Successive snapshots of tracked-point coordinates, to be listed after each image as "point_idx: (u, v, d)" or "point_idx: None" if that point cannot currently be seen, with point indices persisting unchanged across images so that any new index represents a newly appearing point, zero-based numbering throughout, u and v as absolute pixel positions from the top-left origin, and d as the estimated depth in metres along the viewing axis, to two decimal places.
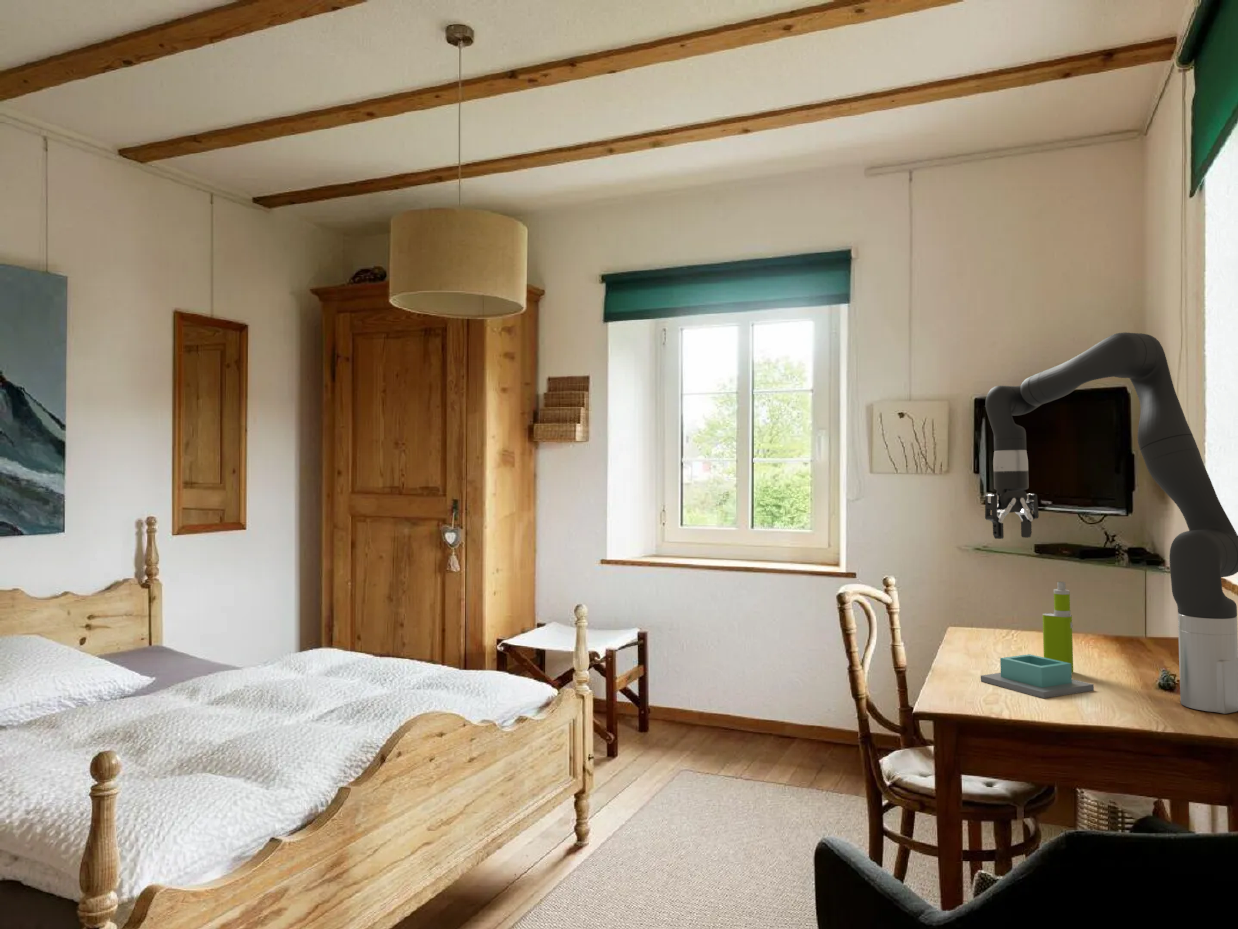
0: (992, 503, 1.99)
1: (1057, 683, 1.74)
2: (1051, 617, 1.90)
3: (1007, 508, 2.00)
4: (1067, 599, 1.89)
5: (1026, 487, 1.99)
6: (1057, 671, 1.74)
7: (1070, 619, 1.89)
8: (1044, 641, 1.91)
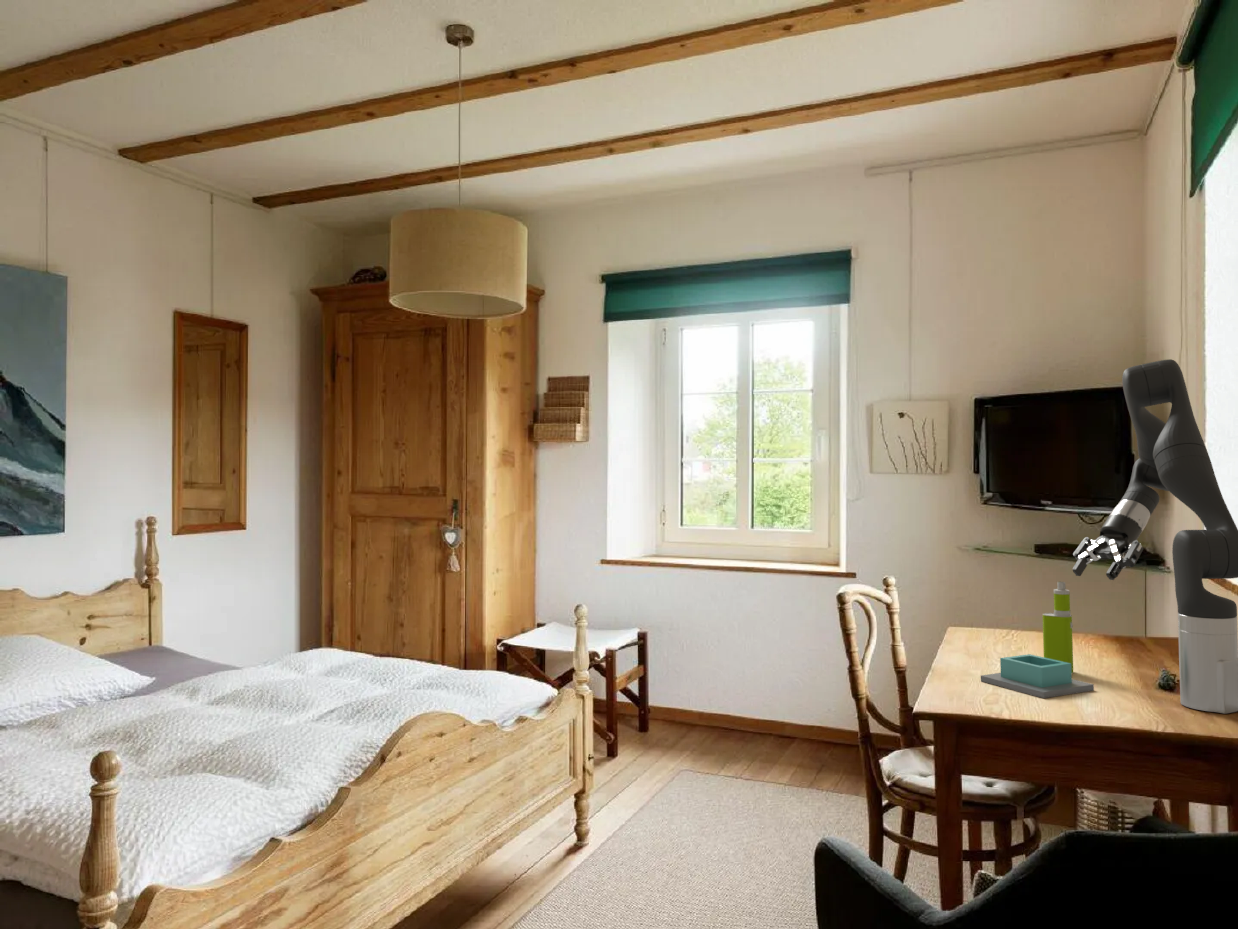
0: None
1: (1057, 683, 1.74)
2: (1051, 617, 1.90)
3: (1091, 546, 2.00)
4: (1067, 599, 1.89)
5: (1113, 527, 1.97)
6: (1057, 671, 1.74)
7: (1070, 619, 1.89)
8: (1044, 641, 1.91)
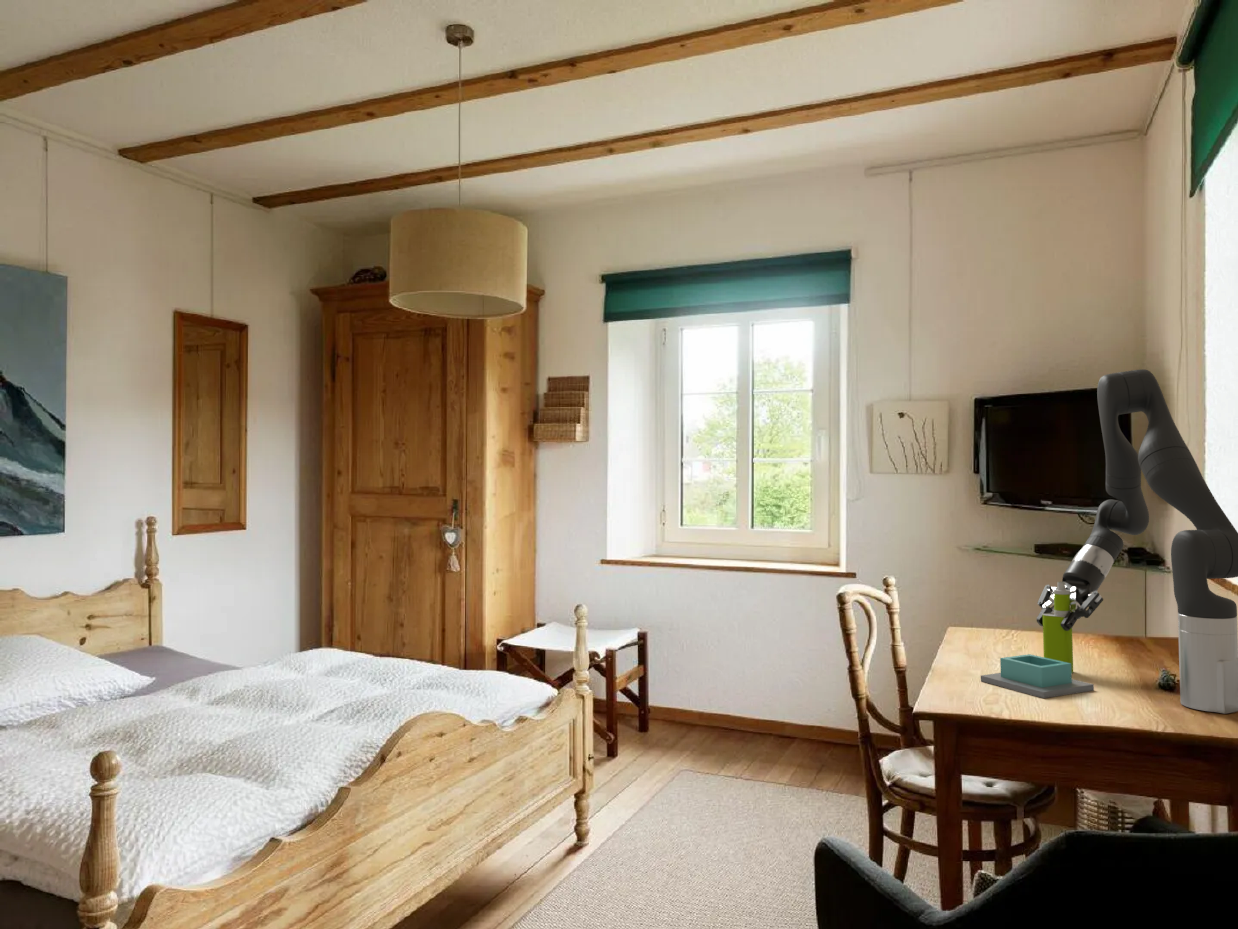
0: None
1: (1057, 683, 1.74)
2: (1051, 617, 1.90)
3: (1053, 594, 1.94)
4: (1067, 599, 1.89)
5: (1074, 573, 1.92)
6: (1057, 671, 1.74)
7: None
8: (1044, 641, 1.91)
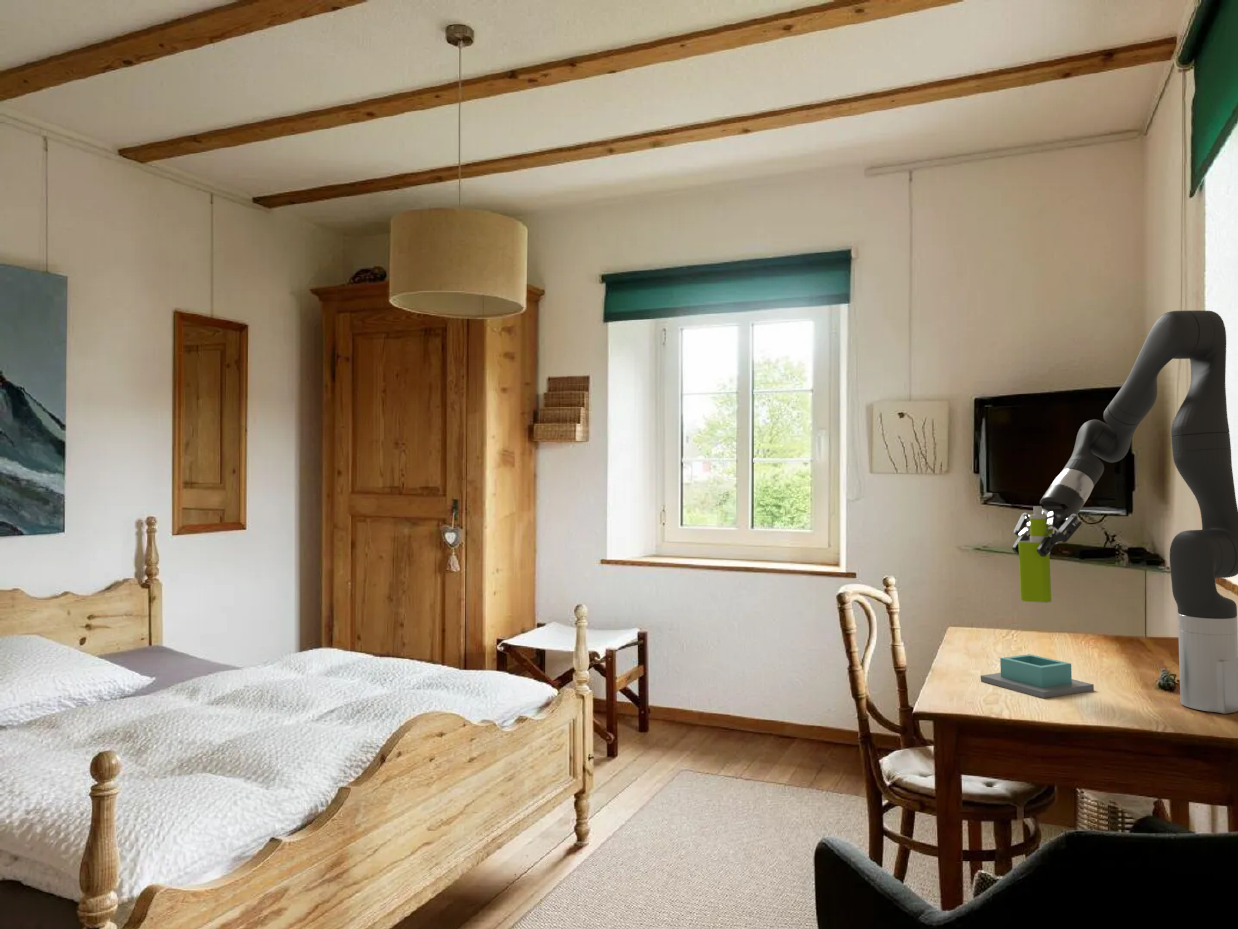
0: None
1: (1057, 683, 1.74)
2: (1027, 543, 1.79)
3: None
4: (1043, 523, 1.78)
5: (1052, 497, 1.81)
6: (1057, 671, 1.74)
7: None
8: (1020, 569, 1.80)
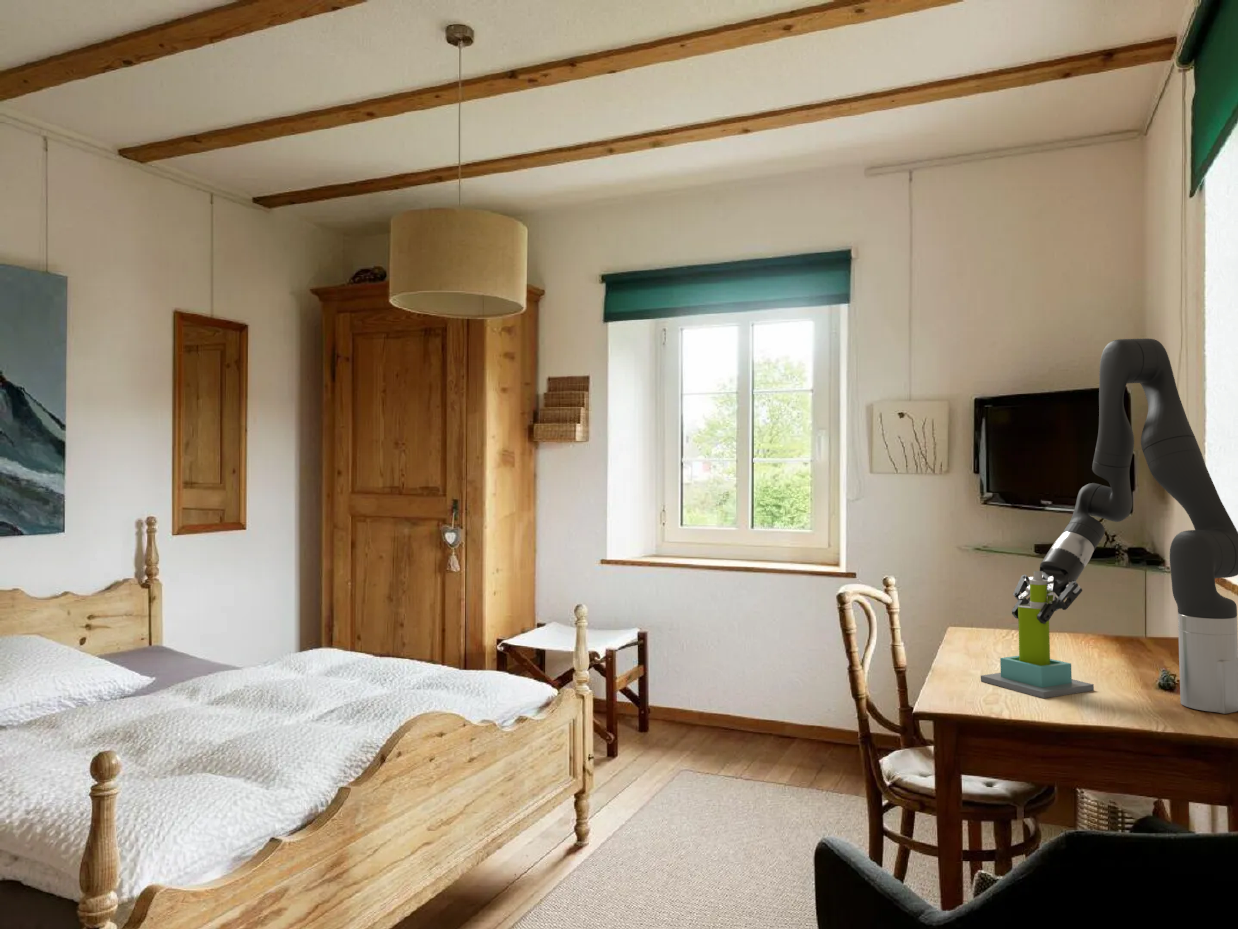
0: None
1: (1057, 683, 1.74)
2: (1027, 609, 1.78)
3: None
4: (1044, 590, 1.77)
5: (1052, 562, 1.80)
6: (1057, 671, 1.74)
7: None
8: (1019, 634, 1.79)
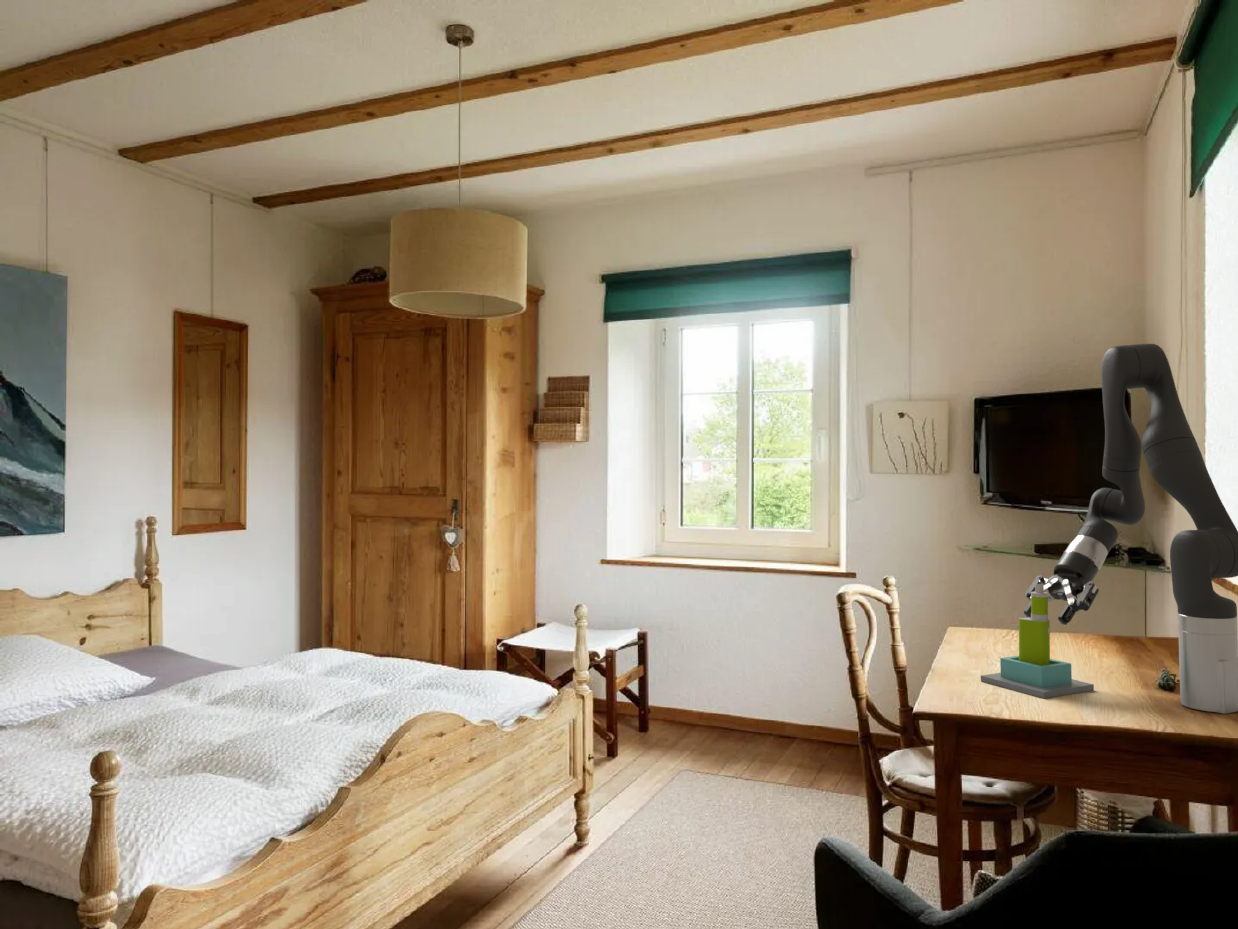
0: None
1: (1057, 683, 1.74)
2: (1028, 621, 1.78)
3: (1044, 586, 1.84)
4: (1045, 602, 1.77)
5: (1067, 565, 1.81)
6: (1057, 671, 1.74)
7: (1048, 624, 1.77)
8: (1020, 647, 1.79)
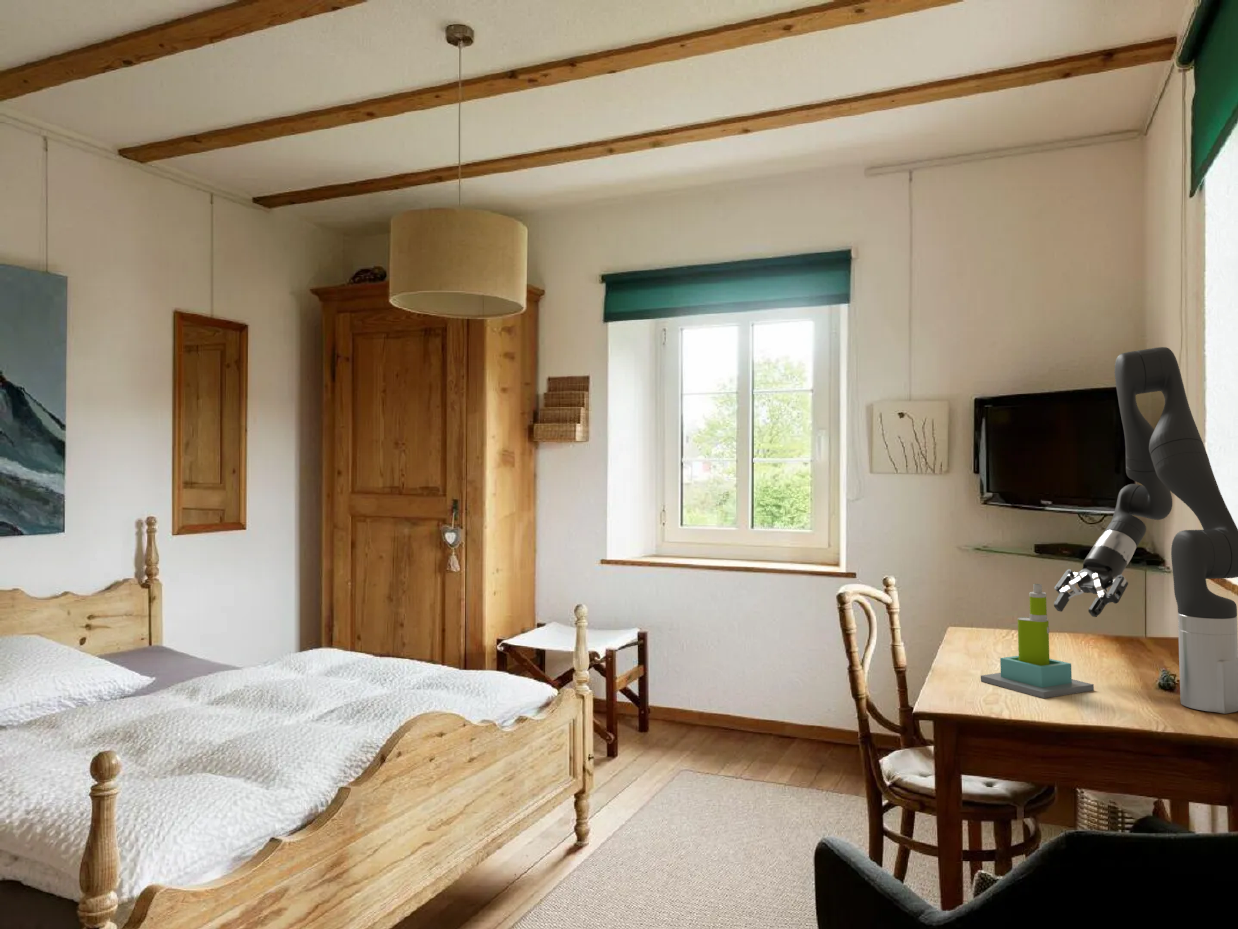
0: None
1: (1057, 683, 1.74)
2: (1027, 622, 1.78)
3: (1073, 580, 1.88)
4: (1043, 602, 1.77)
5: (1096, 559, 1.85)
6: (1057, 671, 1.74)
7: (1047, 624, 1.77)
8: (1019, 647, 1.79)
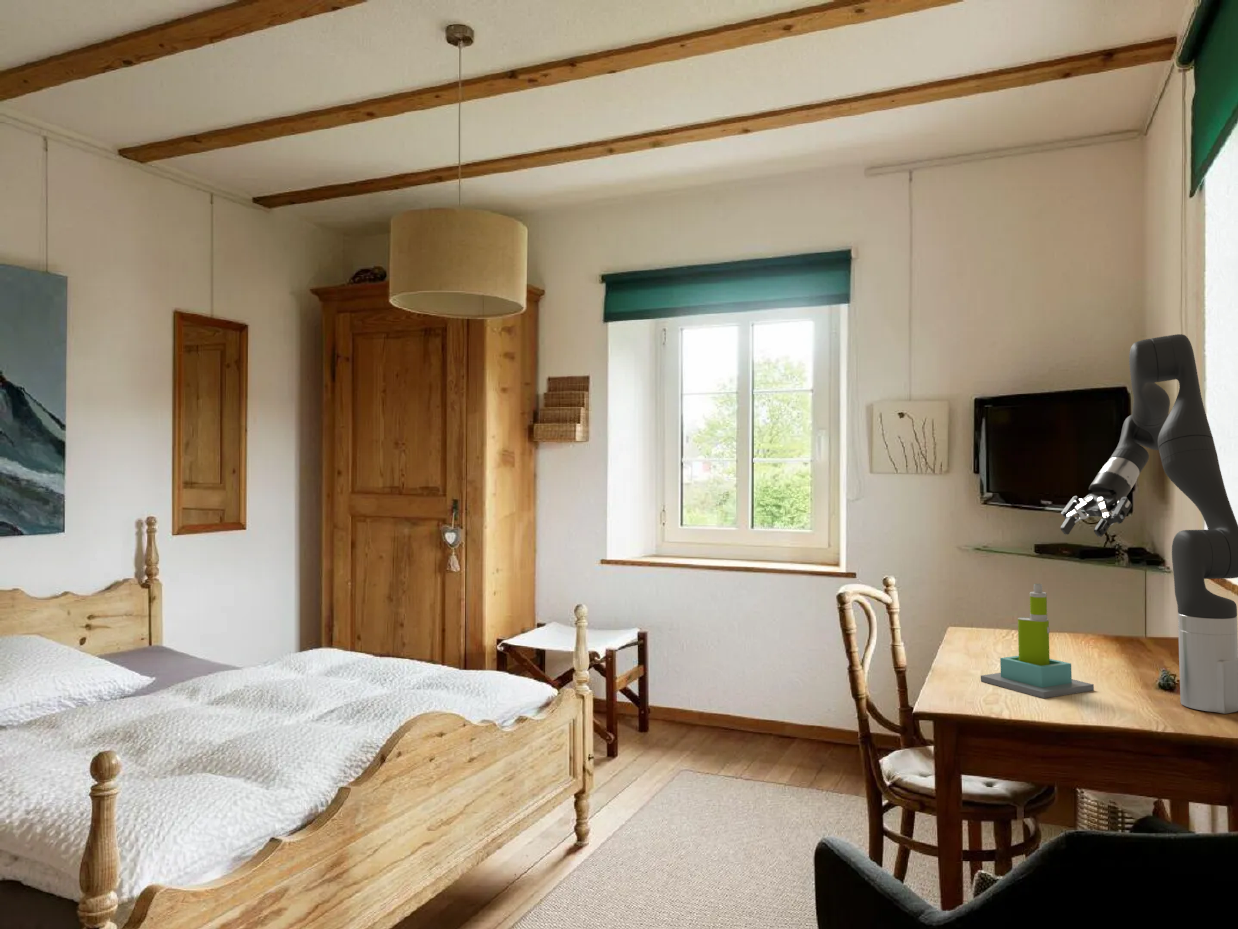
0: None
1: (1057, 683, 1.74)
2: (1027, 621, 1.78)
3: (1079, 504, 1.97)
4: (1044, 602, 1.77)
5: (1101, 484, 1.94)
6: (1057, 671, 1.74)
7: (1047, 624, 1.77)
8: (1019, 647, 1.79)
